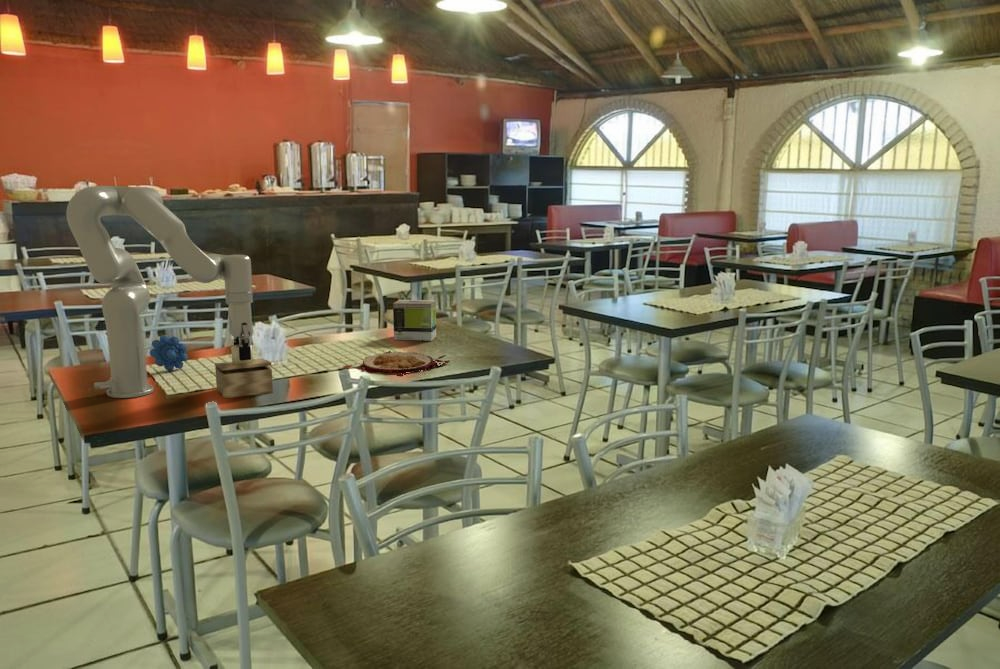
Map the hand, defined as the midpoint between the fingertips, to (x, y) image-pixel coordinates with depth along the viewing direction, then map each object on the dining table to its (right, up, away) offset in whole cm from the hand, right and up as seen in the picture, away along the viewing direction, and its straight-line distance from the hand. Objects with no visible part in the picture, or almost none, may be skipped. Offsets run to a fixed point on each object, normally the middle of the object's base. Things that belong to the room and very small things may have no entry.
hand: (242, 356), depth 241 cm
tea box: (+43, +5, +78) cm, 89 cm away
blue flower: (-31, -6, +25) cm, 40 cm away
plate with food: (+41, -5, +34) cm, 54 cm away
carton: (0, -10, +2) cm, 10 cm away
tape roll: (0, -2, 0) cm, 2 cm away
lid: (0, -3, 0) cm, 3 cm away
